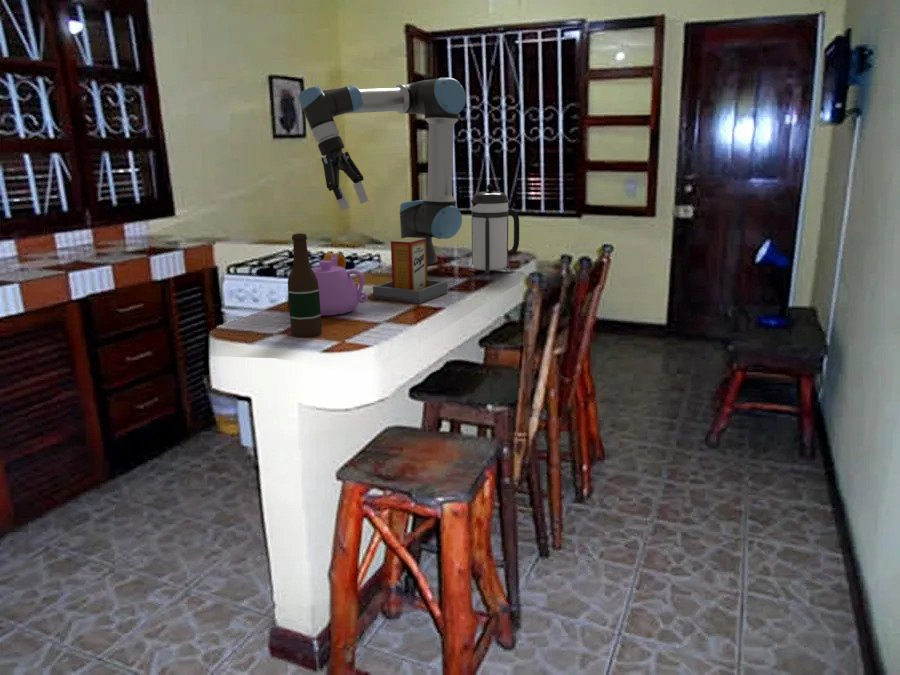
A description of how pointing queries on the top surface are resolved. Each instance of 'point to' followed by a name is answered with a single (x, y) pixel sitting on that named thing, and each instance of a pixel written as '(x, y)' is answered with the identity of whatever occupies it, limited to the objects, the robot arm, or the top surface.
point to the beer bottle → (303, 292)
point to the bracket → (340, 261)
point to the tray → (410, 292)
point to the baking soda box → (409, 263)
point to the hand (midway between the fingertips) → (355, 205)
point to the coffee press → (492, 231)
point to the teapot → (338, 288)
